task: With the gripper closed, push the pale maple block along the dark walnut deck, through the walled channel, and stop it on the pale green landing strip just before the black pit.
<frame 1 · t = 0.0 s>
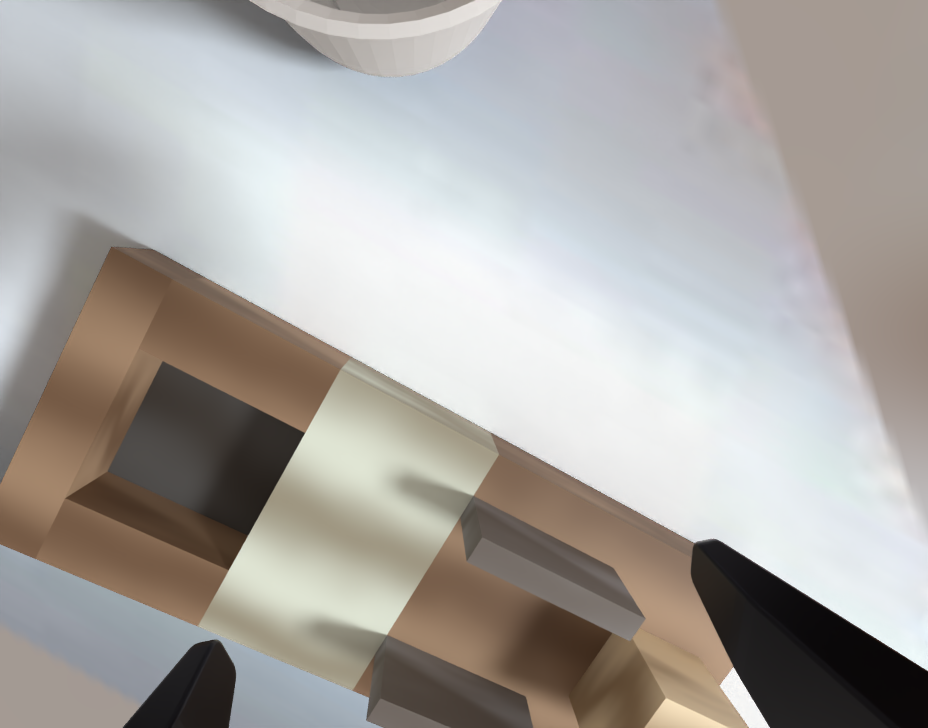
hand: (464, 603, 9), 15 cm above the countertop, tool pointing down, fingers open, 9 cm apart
maple block: (634, 676, 25), point 3 cm above the countertop, touching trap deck
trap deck: (415, 537, 26), on the countertop
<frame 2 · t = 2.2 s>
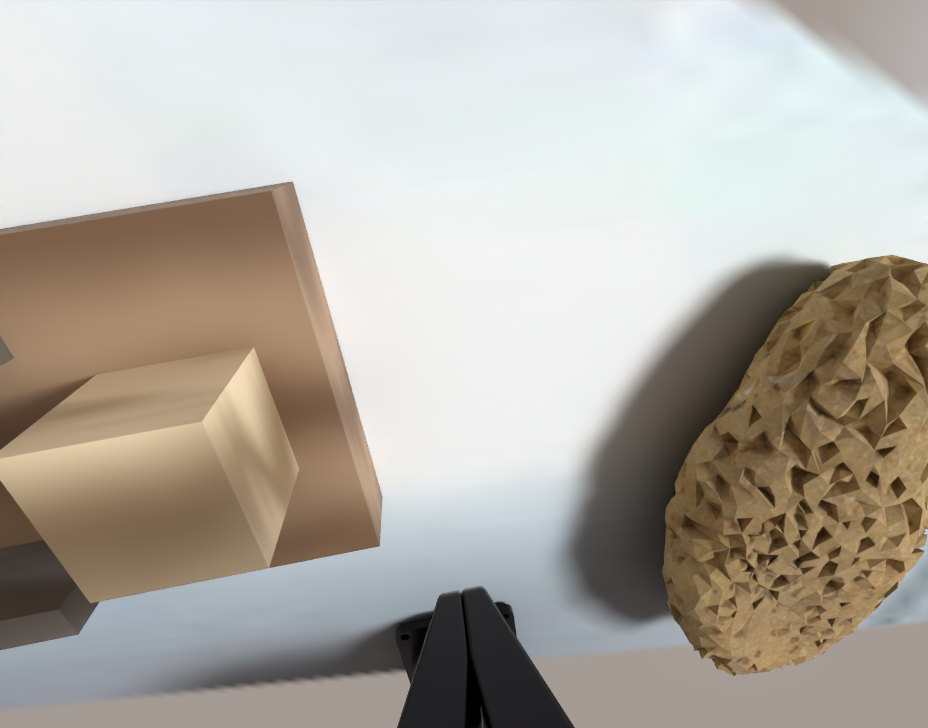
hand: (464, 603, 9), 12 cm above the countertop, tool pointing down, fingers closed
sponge: (756, 456, 25), on the countertop
maple block: (205, 425, 16), point 3 cm above the countertop, touching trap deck
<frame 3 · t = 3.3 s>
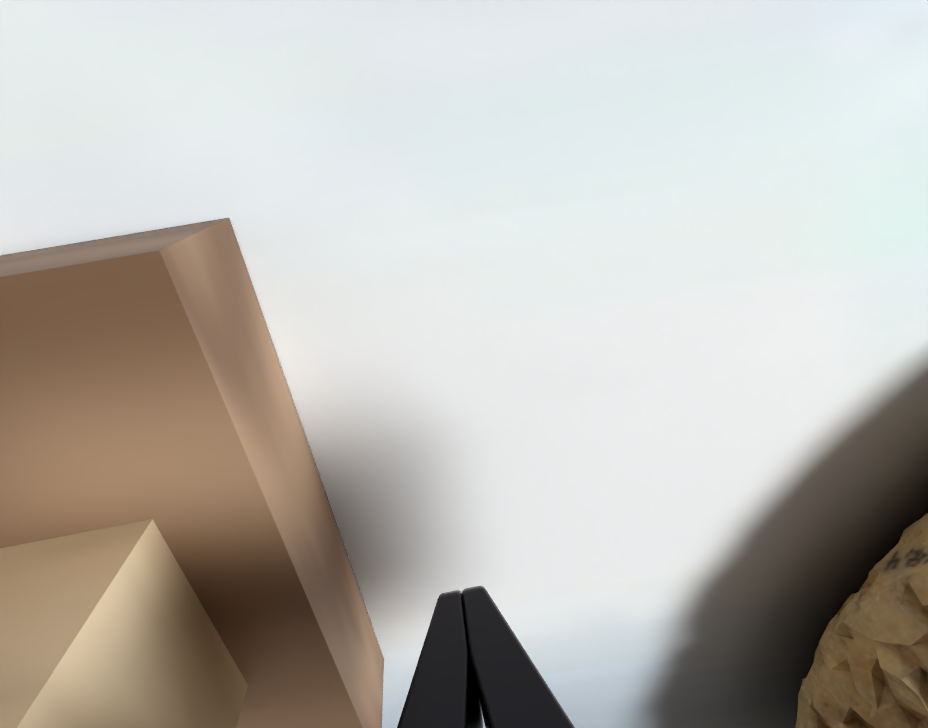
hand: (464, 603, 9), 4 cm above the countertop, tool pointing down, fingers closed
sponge: (911, 582, 18), on the countertop
maple block: (79, 636, 10), point 3 cm above the countertop, touching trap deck
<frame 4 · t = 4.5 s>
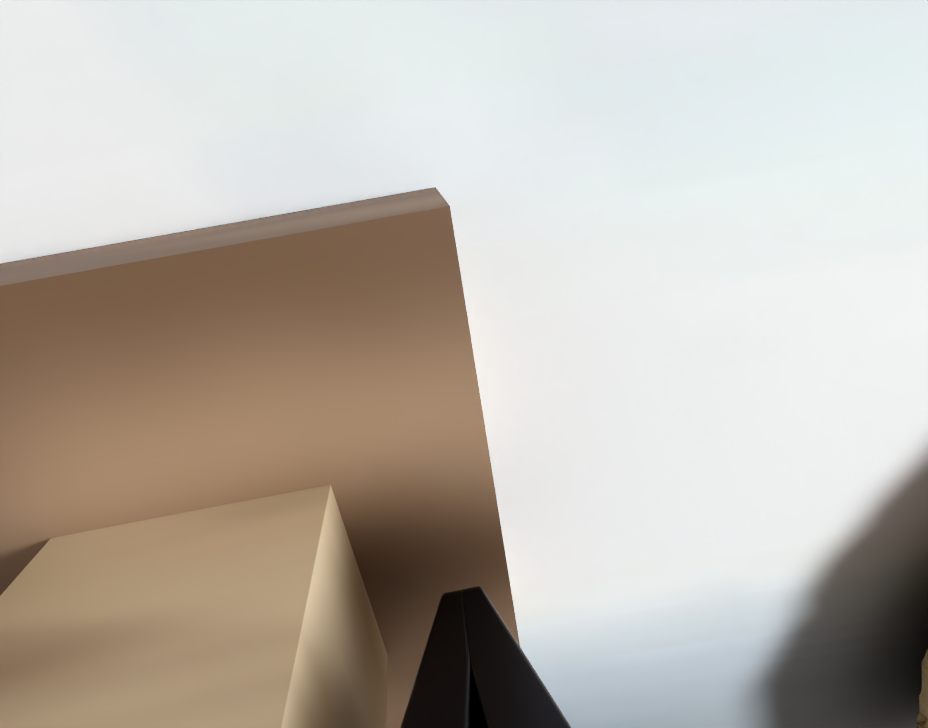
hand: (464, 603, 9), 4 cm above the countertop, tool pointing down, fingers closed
maple block: (240, 603, 10), point 3 cm above the countertop, touching gripper, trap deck
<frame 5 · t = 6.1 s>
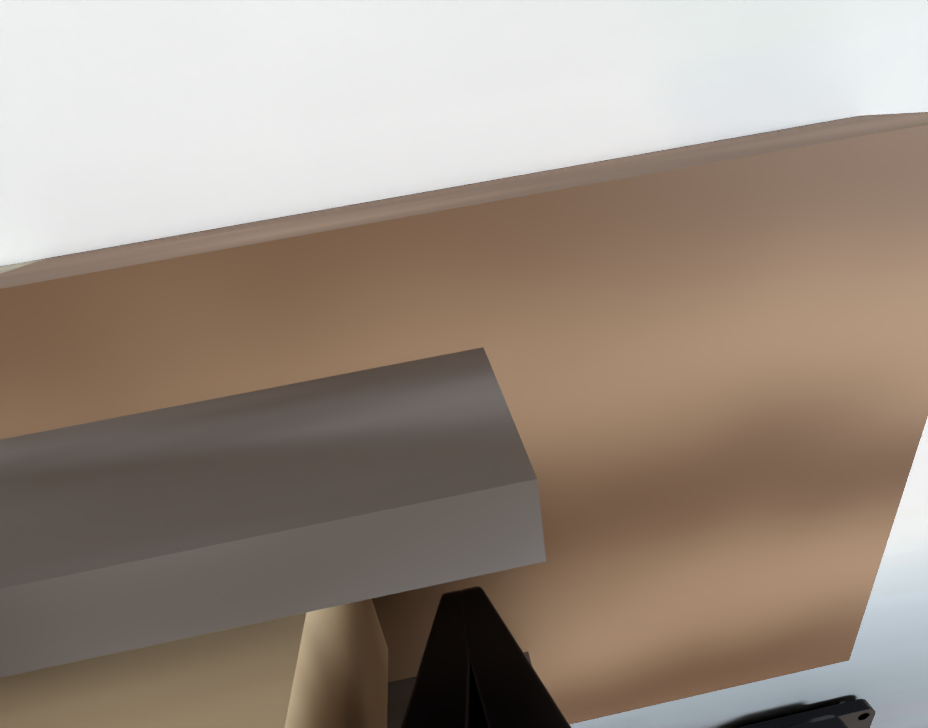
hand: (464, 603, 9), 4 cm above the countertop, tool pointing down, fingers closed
maple block: (241, 598, 10), point 3 cm above the countertop, touching gripper
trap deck: (169, 526, 12), on the countertop
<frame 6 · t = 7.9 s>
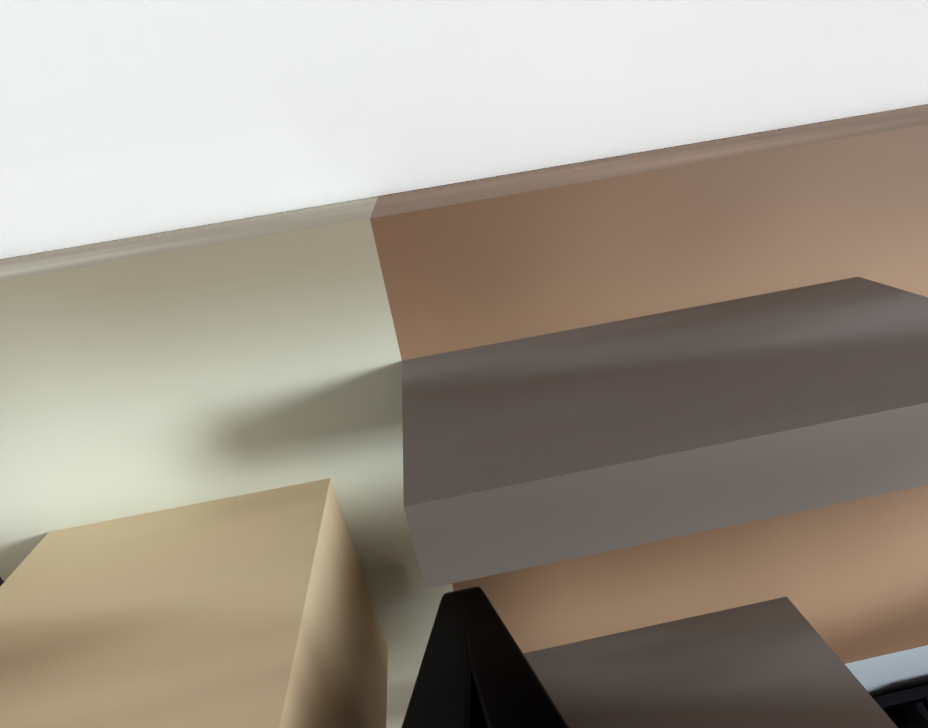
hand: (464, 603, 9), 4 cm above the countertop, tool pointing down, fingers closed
maple block: (239, 598, 10), point 3 cm above the countertop, touching gripper, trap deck
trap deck: (418, 475, 13), on the countertop
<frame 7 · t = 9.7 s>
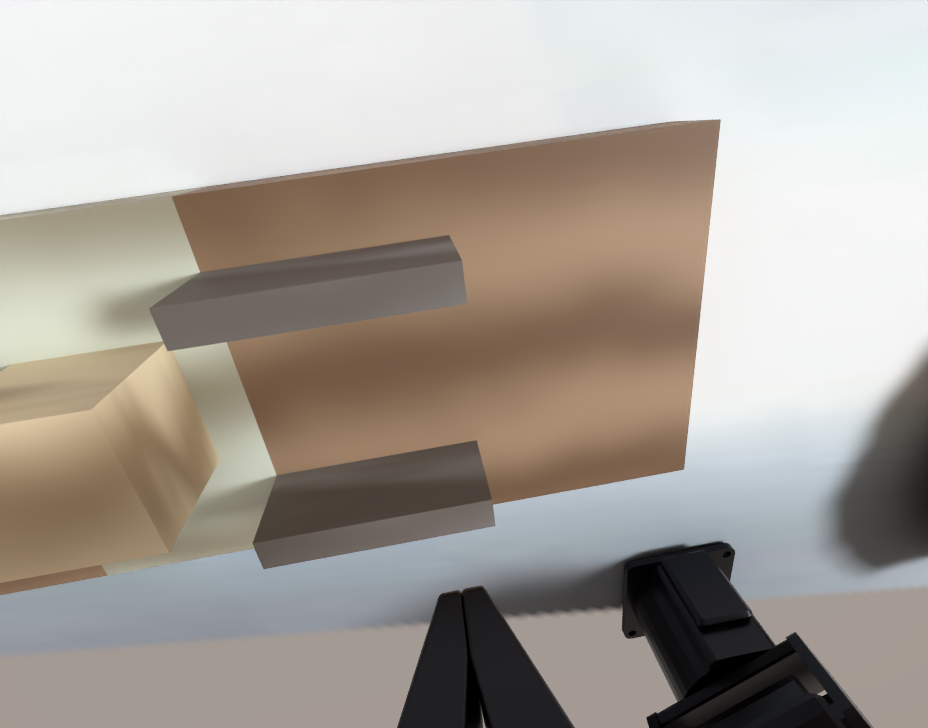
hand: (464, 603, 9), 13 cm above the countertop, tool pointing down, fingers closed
maple block: (123, 415, 17), point 3 cm above the countertop, touching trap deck
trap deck: (256, 365, 20), on the countertop
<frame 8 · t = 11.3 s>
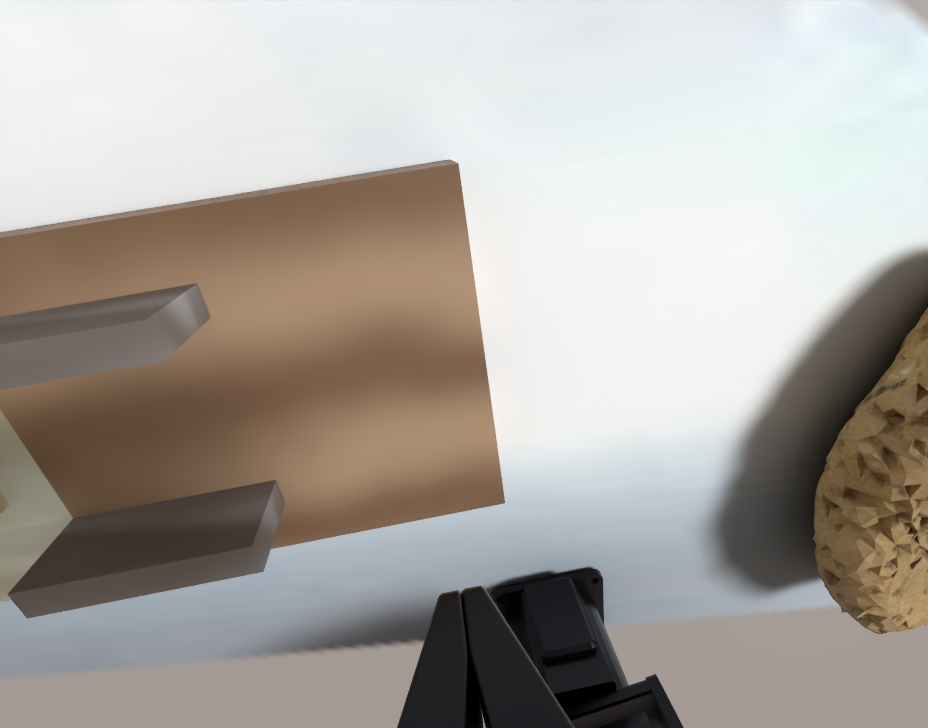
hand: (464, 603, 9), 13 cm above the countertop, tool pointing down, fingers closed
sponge: (889, 431, 27), on the countertop
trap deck: (63, 406, 20), on the countertop
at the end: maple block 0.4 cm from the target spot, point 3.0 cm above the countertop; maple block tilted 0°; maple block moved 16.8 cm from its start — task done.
